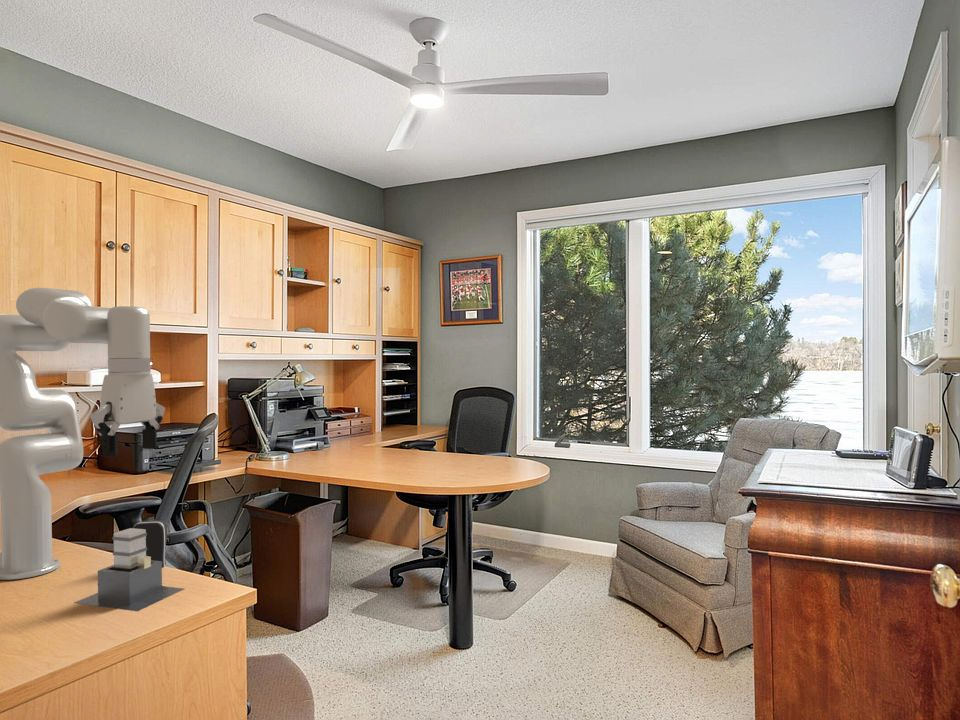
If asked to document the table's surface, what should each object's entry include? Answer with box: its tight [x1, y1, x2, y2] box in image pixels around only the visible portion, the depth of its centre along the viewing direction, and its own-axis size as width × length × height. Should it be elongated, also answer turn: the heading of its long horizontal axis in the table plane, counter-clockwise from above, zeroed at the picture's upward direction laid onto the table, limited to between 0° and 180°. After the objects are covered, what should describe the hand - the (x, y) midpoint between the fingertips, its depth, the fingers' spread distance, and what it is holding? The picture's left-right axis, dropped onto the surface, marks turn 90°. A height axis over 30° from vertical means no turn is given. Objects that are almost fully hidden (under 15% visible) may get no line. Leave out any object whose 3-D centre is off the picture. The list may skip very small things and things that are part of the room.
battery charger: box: [132, 519, 168, 569], centre depth 145 cm, size 7×4×11 cm, turn 99°
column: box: [112, 527, 147, 572], centre depth 126 cm, size 4×4×13 cm
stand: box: [73, 556, 185, 612], centre depth 126 cm, size 16×12×9 cm
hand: (130, 451), depth 127 cm, fingers open, 9 cm apart
